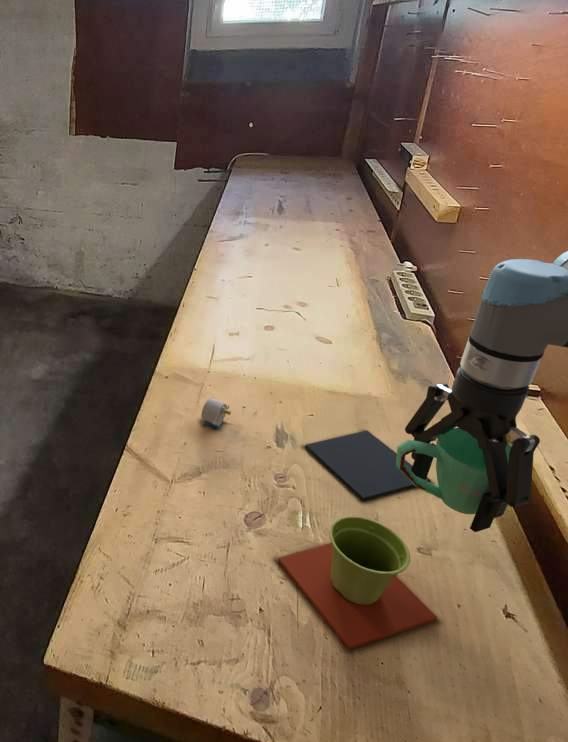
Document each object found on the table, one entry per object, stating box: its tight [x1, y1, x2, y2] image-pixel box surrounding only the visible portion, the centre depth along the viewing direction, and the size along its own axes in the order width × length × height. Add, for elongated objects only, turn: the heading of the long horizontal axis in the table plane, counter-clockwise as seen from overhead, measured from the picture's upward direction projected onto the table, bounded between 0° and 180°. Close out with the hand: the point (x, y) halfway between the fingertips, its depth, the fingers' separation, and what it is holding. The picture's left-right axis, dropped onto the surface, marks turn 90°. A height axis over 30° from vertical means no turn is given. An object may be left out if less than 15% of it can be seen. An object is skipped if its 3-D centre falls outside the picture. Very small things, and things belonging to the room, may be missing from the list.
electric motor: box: [200, 397, 232, 429], centre depth 112 cm, size 7×5×5 cm
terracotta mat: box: [277, 542, 438, 650], centre depth 79 cm, size 14×14×1 cm
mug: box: [396, 427, 511, 515], centre depth 82 cm, size 15×10×10 cm
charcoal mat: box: [305, 430, 432, 501], centre depth 101 cm, size 14×14×1 cm
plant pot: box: [329, 515, 411, 605], centre depth 77 cm, size 9×9×9 cm
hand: (446, 502), depth 83 cm, fingers closed on mug, 9 cm apart
